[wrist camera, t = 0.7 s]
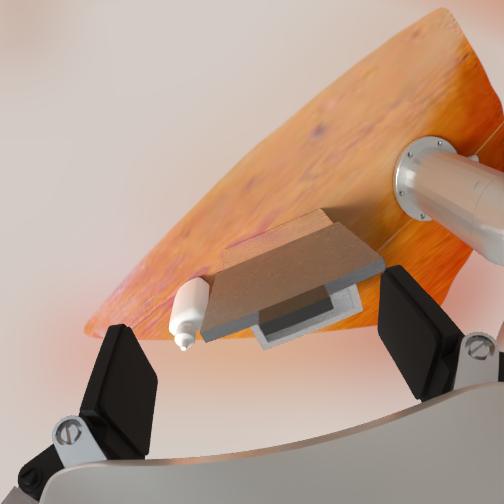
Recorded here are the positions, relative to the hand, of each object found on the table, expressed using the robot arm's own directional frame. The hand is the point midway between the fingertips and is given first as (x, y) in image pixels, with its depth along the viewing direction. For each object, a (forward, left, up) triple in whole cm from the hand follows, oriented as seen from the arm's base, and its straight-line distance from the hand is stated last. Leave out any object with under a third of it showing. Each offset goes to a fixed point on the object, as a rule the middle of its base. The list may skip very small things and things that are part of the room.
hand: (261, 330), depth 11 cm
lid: (-1, +8, -15) cm, 17 cm away
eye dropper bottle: (+13, +13, -30) cm, 35 cm away
